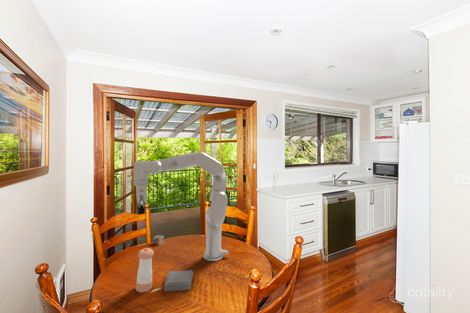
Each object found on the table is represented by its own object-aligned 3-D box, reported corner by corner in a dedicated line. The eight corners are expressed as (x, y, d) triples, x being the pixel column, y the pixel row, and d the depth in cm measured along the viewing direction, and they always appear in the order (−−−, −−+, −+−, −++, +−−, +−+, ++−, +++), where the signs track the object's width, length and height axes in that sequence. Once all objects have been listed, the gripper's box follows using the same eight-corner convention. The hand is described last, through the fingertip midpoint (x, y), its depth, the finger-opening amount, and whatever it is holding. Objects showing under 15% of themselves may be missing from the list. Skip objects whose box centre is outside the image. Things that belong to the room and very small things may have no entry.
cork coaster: (169, 289, 105) (169, 287, 105) (165, 300, 97) (165, 298, 97) (152, 289, 104) (152, 288, 104) (147, 301, 96) (147, 299, 96)
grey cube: (153, 244, 155) (153, 237, 155) (158, 241, 159) (158, 235, 159) (159, 245, 153) (159, 238, 153) (163, 242, 158) (163, 235, 158)
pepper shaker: (146, 281, 109) (148, 243, 108) (155, 287, 105) (157, 248, 104) (132, 287, 103) (134, 248, 102) (141, 294, 99) (143, 253, 98)
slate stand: (192, 275, 115) (192, 269, 115) (190, 289, 103) (190, 283, 103) (169, 276, 114) (169, 270, 114) (164, 291, 102) (164, 284, 102)
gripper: (149, 183, 119) (149, 215, 119) (147, 180, 135) (147, 208, 135) (134, 184, 116) (134, 216, 116) (134, 181, 131) (133, 209, 132)
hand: (141, 211), depth 125 cm, fingers open, 9 cm apart
